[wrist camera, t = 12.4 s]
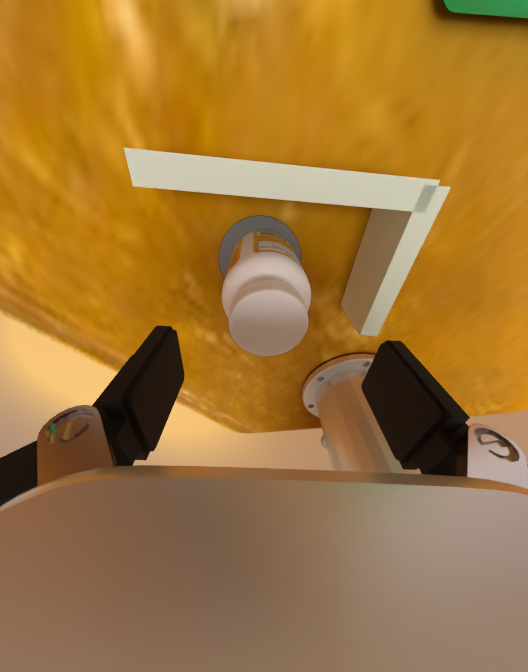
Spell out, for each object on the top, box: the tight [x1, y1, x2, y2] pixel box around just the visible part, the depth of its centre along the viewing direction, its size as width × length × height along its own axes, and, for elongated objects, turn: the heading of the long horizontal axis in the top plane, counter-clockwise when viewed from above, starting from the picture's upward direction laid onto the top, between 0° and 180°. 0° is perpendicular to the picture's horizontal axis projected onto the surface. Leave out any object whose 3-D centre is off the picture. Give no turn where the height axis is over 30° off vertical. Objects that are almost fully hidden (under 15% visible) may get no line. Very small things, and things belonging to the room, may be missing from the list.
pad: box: [219, 216, 301, 279], centre depth 18 cm, size 7×7×1 cm
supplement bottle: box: [222, 229, 311, 356], centre depth 14 cm, size 5×5×10 cm
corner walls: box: [124, 148, 451, 336], centre depth 16 cm, size 10×17×5 cm, turn 85°
